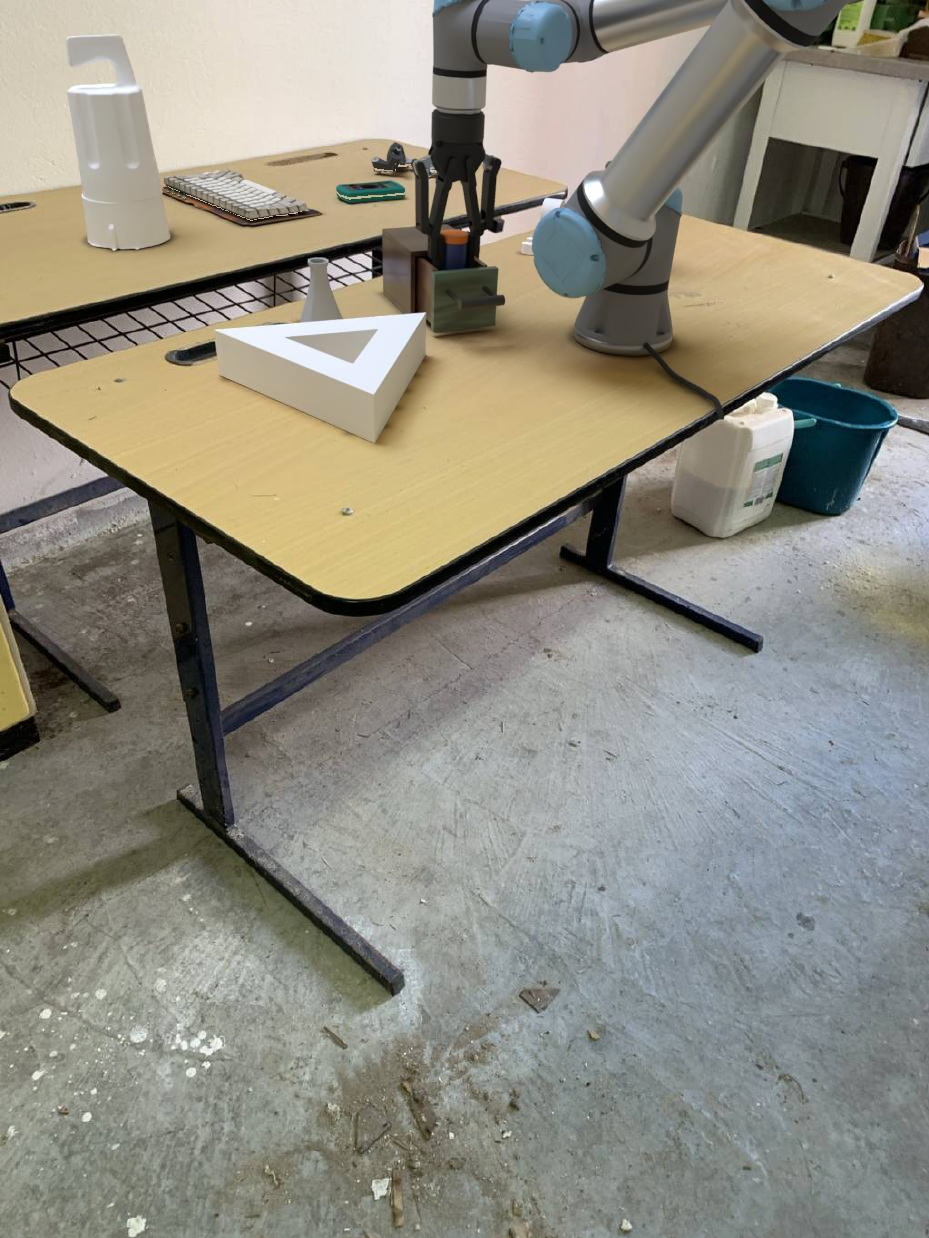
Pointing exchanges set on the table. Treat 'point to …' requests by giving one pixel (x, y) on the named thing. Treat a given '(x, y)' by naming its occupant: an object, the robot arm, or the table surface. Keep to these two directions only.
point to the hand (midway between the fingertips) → (453, 278)
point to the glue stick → (455, 249)
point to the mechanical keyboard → (235, 197)
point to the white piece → (115, 151)
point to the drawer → (456, 295)
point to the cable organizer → (546, 208)
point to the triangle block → (329, 366)
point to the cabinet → (403, 264)
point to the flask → (319, 294)
